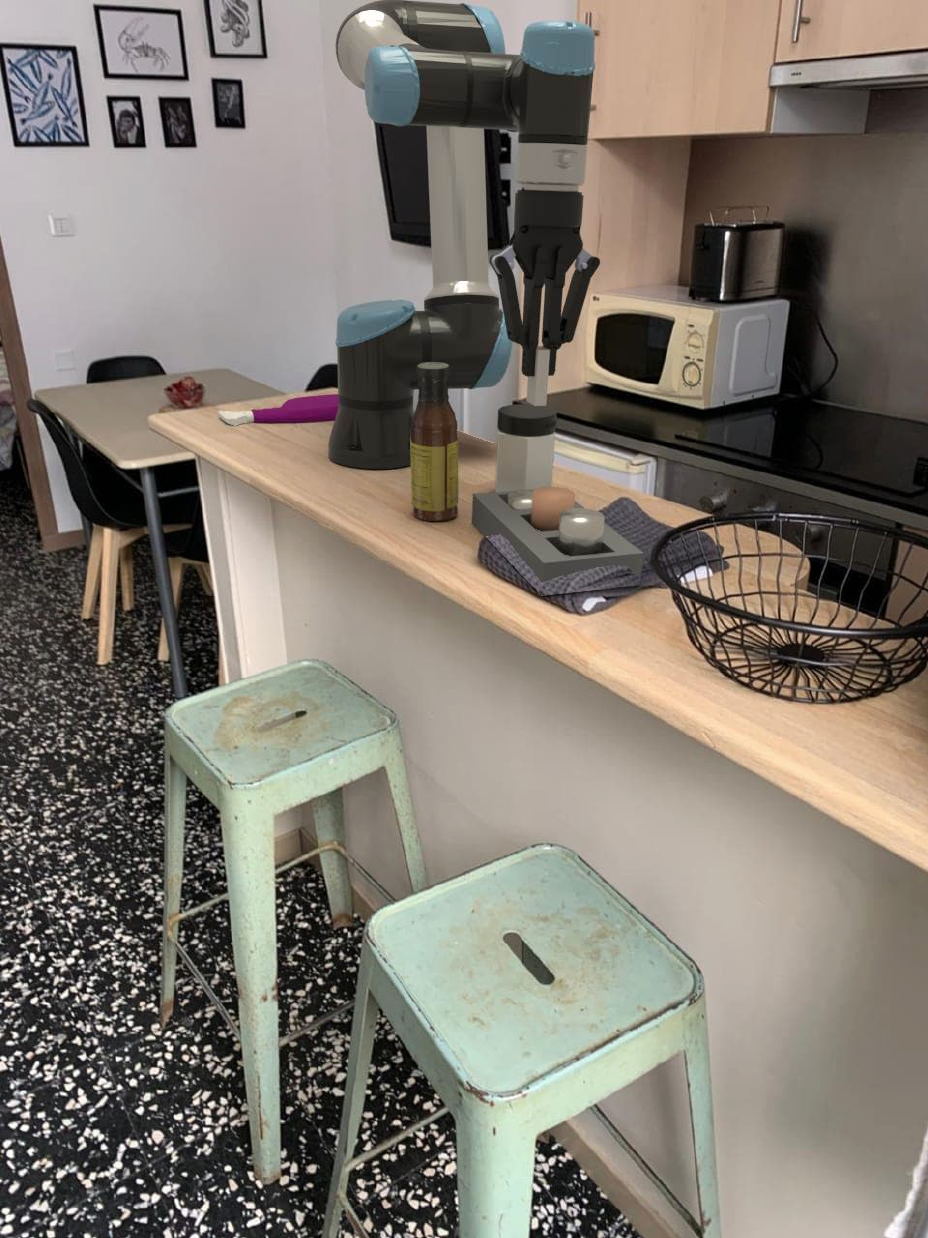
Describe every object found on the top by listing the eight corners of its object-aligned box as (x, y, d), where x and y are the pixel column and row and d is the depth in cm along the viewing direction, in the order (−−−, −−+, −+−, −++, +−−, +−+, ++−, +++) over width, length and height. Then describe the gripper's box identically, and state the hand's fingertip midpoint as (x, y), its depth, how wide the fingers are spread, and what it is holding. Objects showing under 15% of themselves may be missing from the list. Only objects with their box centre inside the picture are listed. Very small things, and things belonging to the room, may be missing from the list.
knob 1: (500, 521, 122) (502, 492, 120) (536, 518, 123) (538, 489, 122) (514, 534, 118) (516, 504, 116) (551, 531, 119) (553, 501, 117)
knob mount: (471, 523, 122) (472, 493, 121) (556, 516, 126) (558, 487, 124) (541, 596, 102) (543, 562, 100) (639, 586, 105) (643, 553, 104)
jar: (553, 505, 130) (559, 419, 125) (494, 503, 130) (498, 417, 125) (548, 485, 138) (554, 404, 133) (493, 483, 138) (497, 402, 133)
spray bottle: (364, 420, 172) (232, 434, 161) (343, 406, 180) (216, 419, 170) (364, 404, 170) (230, 417, 160) (342, 391, 179) (214, 403, 169)
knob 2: (550, 543, 107) (552, 509, 105) (589, 539, 108) (592, 506, 107) (567, 559, 103) (570, 524, 101) (608, 555, 104) (612, 521, 102)
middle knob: (524, 519, 114) (526, 488, 112) (562, 516, 115) (564, 485, 114) (540, 533, 110) (542, 501, 108) (579, 530, 111) (582, 498, 109)
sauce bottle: (445, 505, 129) (449, 358, 120) (466, 519, 124) (471, 367, 115) (401, 511, 126) (402, 360, 117) (421, 526, 121) (423, 370, 112)
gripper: (506, 187, 98) (496, 412, 108) (618, 190, 101) (598, 407, 111) (482, 185, 104) (475, 398, 114) (589, 188, 108) (572, 394, 118)
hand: (536, 403), depth 113 cm, fingers closed
